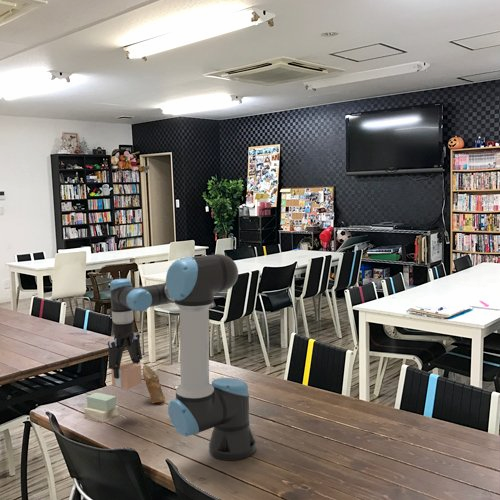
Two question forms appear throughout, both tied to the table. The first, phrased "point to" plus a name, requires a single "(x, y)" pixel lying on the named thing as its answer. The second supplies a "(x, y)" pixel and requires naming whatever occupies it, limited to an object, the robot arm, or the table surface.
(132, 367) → the terracotta block
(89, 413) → the block base
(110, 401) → the block top
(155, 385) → the figurine
